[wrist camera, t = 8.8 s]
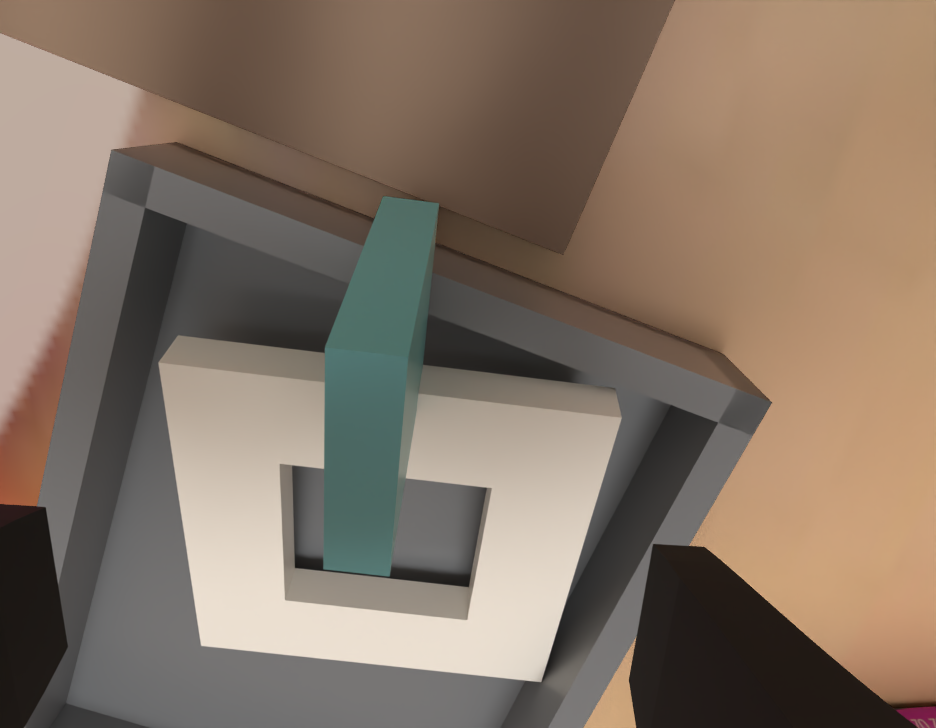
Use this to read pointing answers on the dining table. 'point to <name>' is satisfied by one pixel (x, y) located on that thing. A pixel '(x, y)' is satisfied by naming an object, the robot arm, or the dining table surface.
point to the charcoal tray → (423, 504)
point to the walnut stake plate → (390, 86)
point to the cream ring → (380, 480)
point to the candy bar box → (920, 716)
